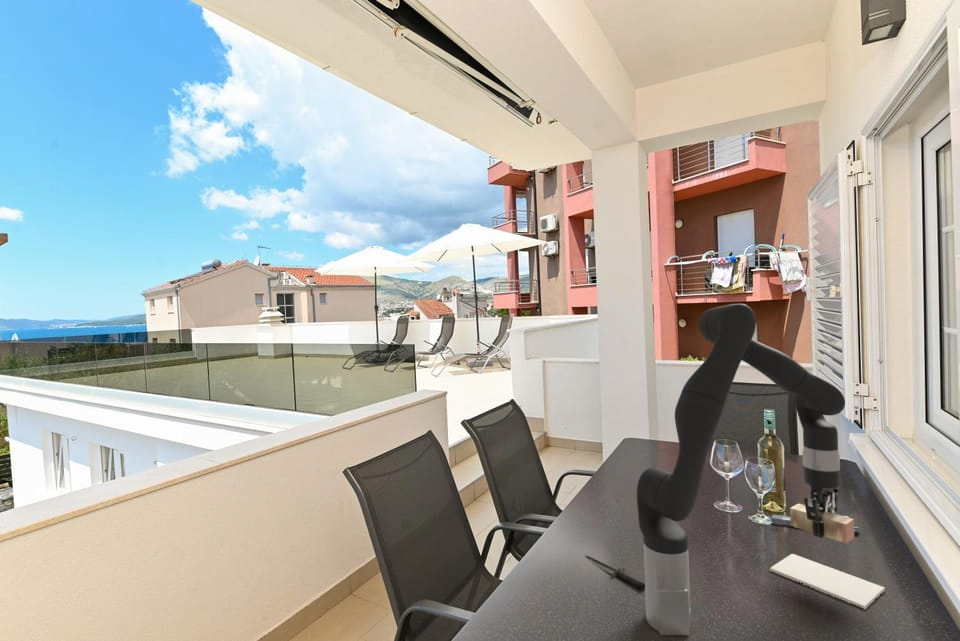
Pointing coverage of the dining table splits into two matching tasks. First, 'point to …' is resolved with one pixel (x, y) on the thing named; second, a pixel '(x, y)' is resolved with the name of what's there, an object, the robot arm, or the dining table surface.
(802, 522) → the maple block
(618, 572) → the knife
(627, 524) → the dining table surface
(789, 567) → the mat
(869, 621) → the dining table surface
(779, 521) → the handgun
